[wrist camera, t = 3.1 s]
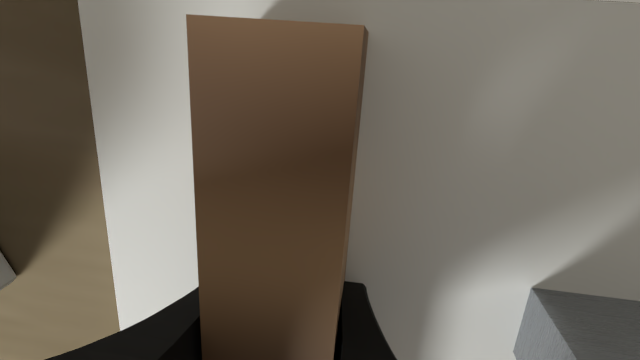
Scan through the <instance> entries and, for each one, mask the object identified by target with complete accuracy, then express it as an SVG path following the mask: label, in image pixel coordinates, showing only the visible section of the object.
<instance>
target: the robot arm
mask: <svg viewBox="0 0 640 360" xmlns="http://www.w3.org/2000/svg"><path fill="white" fill-rule="evenodd" d="M45 360H202V348H201V326H200V305H199V287H197V288H196V289H194V290H193V291H191V292H190V293H188V294H187V295H185V296H184V297H182V298H180V299H179V300H177V301H175V302H174V303H172V304H170V305H169V306H167V307H165V308H164V309H162V310H160V311H159V312H157V313H155V314H153V315H152V316H150V317H148V318H146V319H144V320H142V321H140V322H138V323H136V324H134V325H132V326H130V327H128V328H126V329H124V330H122V331H120V332H117V333H115V334H113V335H110V336H108V337H105V338H103V339H100V340H98V341H96V342H93V343H91V344H88V345H86V346H83V347H81V348H78V349H75V350H72V351H69V352H67V353H64V354H61V355H58V356H55V357H52V358H48V359H45ZM336 360H397V359H396V357H395V355H394V354H393V352H392V350H391V348H390V346H389V344H388V343H387V341H386V339H385V337H384V335H383V333H382V331H381V328H380V326H379V324H378V322H377V320H376V317H375V315H374V312H373V310H372V307H371V304H370V301H369V298H368V294H367V289H366V286H365V285H364V284H363V283H356V282H348V281H344V286H343V292H342V298H341V309H340V319H339V330H338V340H337V351H336Z"/></svg>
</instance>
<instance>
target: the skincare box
mask: <svg viewBox="0 0 640 360" xmlns="http://www.w3.org/2000/svg"><path fill="white" fill-rule="evenodd" d="M15 278H16V274H15V273H14V271H13V270H12V268H11V267H10V265H9V264H8V262H7V261H6V259H5V258H4V256H3V254H2V253H1V251H0V290H2V289H3V288H4V287H6V286H7V285H9V284H10V283H11V282H13V281H14V280H15Z"/></svg>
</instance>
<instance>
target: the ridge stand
mask: <svg viewBox="0 0 640 360" xmlns="http://www.w3.org/2000/svg"><path fill="white" fill-rule="evenodd" d="M78 7H79V15H80V23H81V31H82V38H83V46H84V54H85V62H86V69H87V77H88V85H89V92H90V100H91V108H92V116H93V123H94V131H95V139H96V147H97V154H98V162H99V170H100V178H101V185H102V193H103V201H104V209H105V216H106V224H107V232H108V240H109V247H110V255H111V263H112V270H113V278H114V286H115V294H116V301H117V309H118V317H119V325H120V331H122V330H124V329H126V328H128V327H130V326H132V325H134V324H136V323H138V322H140V321H142V320H144V319H146V318H148V317H150V316H152V315H153V314H155V313H157V312H159V311H160V310H162V309H164V308H165V307H167V306H169V305H170V304H172V303H174V302H175V301H177V300H179V299H180V298H182V297H184V296H185V295H187V294H188V293H190V292H191V291H193V290H194V289H196V288H197V287H199V283H198V262H197V240H196V219H195V197H194V176H193V154H192V133H191V111H190V90H189V68H188V47H187V25H186V14H190V15H206V16H223V17H239V18H255V19H272V20H288V21H305V22H321V23H338V24H354V25H364V26H365V27H366V29H367V30H368V32H369V34H368V45H367V55H366V66H365V76H364V86H363V97H362V107H361V117H360V128H359V138H358V148H357V159H356V169H355V179H354V190H353V200H352V211H351V221H350V231H349V242H348V252H347V262H346V273H345V281H348V282H356V283H363V284H364V285H365V286H366V289H367V294H368V298H369V301H370V304H371V307H372V310H373V312H374V315H375V317H376V320H377V322H378V324H379V326H380V328H381V331H382V333H383V335H384V337H385V339H386V341H387V343H388V344H389V346H390V348H391V350H392V352H393V354H394V355H395V357H396V359H397V360H640V3H633V2H613V1H594V0H78Z"/></svg>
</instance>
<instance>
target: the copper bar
mask: <svg viewBox="0 0 640 360" xmlns="http://www.w3.org/2000/svg"><path fill="white" fill-rule="evenodd" d="M186 25H187V47H188V68H189V90H190V111H191V133H192V154H193V176H194V197H195V219H196V240H197V262H198V283H199V305H200V326H201V348H202V360H336V351H337V340H338V330H339V319H340V309H341V298H342V292H343V286H344V281H345V273H346V262H347V252H348V242H349V231H350V221H351V211H352V200H353V190H354V179H355V169H356V159H357V148H358V138H359V128H360V117H361V107H362V97H363V86H364V76H365V66H366V55H367V45H368V34H369V32H368V30H367V29H366V27H365V26H364V25H354V24H338V23H321V22H305V21H288V20H272V19H255V18H239V17H223V16H206V15H190V14H186Z"/></svg>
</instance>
